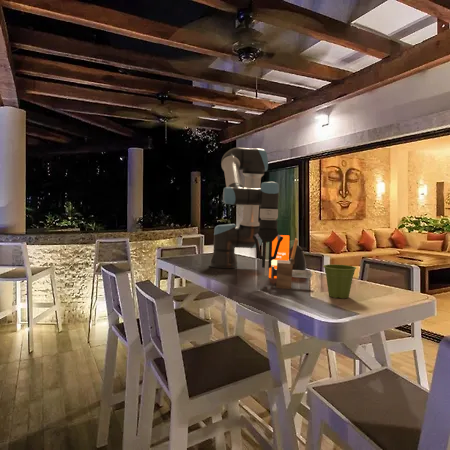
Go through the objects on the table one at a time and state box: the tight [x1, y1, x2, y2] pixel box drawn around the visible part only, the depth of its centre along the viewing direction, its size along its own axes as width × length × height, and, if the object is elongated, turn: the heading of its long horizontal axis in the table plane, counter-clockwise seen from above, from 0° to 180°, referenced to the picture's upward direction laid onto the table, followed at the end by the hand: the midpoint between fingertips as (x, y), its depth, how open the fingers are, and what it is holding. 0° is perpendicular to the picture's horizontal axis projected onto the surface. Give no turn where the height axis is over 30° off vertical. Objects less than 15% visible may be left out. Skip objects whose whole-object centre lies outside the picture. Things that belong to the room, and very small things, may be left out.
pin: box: [270, 266, 313, 279], centre depth 149 cm, size 5×17×5 cm, turn 82°
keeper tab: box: [290, 237, 299, 259], centre depth 148 cm, size 8×10×1 cm
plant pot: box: [322, 263, 357, 299], centre depth 134 cm, size 12×12×11 cm
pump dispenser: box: [289, 244, 307, 271], centre depth 174 cm, size 10×10×15 cm
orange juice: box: [268, 234, 290, 279], centre depth 170 cm, size 8×9×20 cm
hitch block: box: [275, 256, 295, 290], centre depth 149 cm, size 10×7×12 cm, turn 172°
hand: (266, 275), depth 150 cm, fingers closed
